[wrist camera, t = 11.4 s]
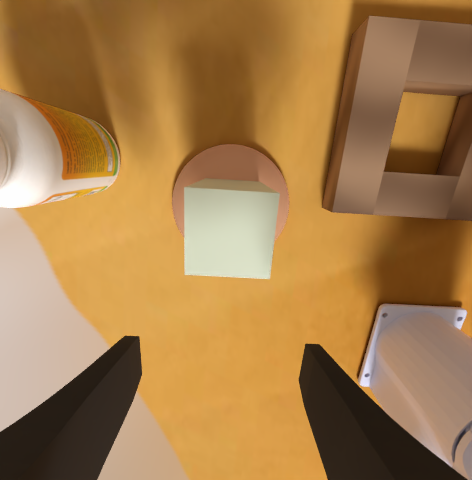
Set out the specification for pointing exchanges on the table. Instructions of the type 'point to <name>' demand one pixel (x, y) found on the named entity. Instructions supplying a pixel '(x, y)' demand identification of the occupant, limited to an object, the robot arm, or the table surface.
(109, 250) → the table surface
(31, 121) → the supplement bottle
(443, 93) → the block
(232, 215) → the peg
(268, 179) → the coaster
